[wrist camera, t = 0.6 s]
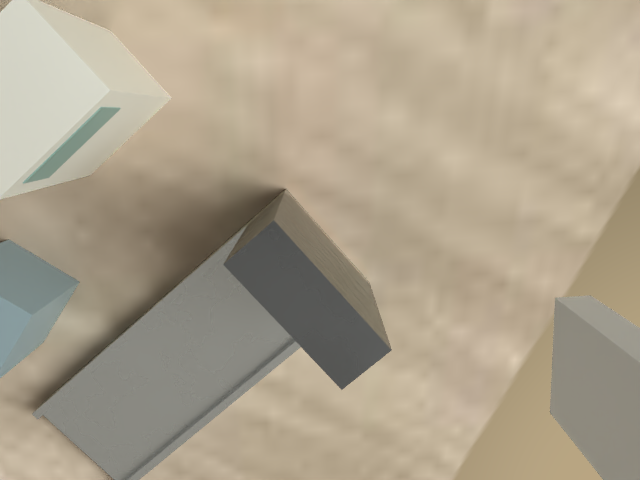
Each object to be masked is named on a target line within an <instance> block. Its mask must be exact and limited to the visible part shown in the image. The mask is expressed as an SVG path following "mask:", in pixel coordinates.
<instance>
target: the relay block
mask: <svg viewBox="0 0 640 480" xmlns="http://www.w3.org/2000/svg"><path fill="white" fill-rule="evenodd" d="M78 284H79V281H77V280H76V279H74V278H72V277H71V276H69V275H67V274H66V273H64V272H62V271H61V270H59V269H57V268H56V267H54V266H52V265H51V264H49V263H47V262H46V261H44V260H42V259H41V258H39V257H37V256H36V255H34V254H32V253H31V252H29V251H27V250H26V249H24V248H22V247H21V246H19V245H17V244H16V243H14V242H12V241H10V240H6V241H4V242H1V243H0V378H1V377H2V376H4V375H5V374H6V373H7V372H8V371H10V370H11V369H12V368H13V367H14V366H16V365H17V364H18V363H19V362H20V361H22V360H23V359H24V358H25V357H26V356H28V355H29V354H30V353H31V352H32V351H34V350H35V349H36V348H37V347H38V346H40V345H41V344H42V343H43V342H44V340H45V339H46V337H47V335H48V334H49V332H50V330H51V329H52V327H53V325H54V324H55V322H56V320H57V319H58V317H59V315H60V314H61V312H62V310H63V309H64V307H65V305H66V304H67V302H68V300H69V299H70V297H71V295H72V294H73V292H74V290H75V289H76V287H77V285H78Z"/></svg>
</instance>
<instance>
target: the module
mask: <svg viewBox="0 0 640 480" xmlns="http://www.w3.org/2000/svg"><path fill="white" fill-rule="evenodd" d="M170 99H171V97H170V96H169V94H168V93H167V92H166V91H165V90H164V89H163V88H162V87H161V86H160V84H159V83H158V82H157V81H156V80H155V79H154V78H153V77H152V76H151V75H150V73H149V72H148V71H147V70H146V69H145V68H144V67H143V66H142V65H141V63H140V62H139V61H138V60H137V59H136V58H135V57H134V56H133V55H132V53H131V52H130V51H129V50H128V49H127V48H126V47H125V46H124V45H123V44H122V42H121V41H120V40H119V39H118V38H117V37H116V36H115V35H114V34H113V32H112V31H110V30H108V29H106V28H103V27H101V26H98V25H96V24H94V23H91V22H89V21H87V20H84V19H82V18H79V17H77V16H75V15H72V14H70V13H68V12H65V11H63V10H61V9H58V8H56V7H53V6H51V5H49V4H46V3H44V2H42V1H39V0H12V1H11V2H10V3H9V4H8V5H7V6H6V7H5V8H4V9H3V10H2V11H1V12H0V199H4V198H8V197H11V196H15V195H19V194H23V193H26V192H30V191H34V190H38V189H41V188H45V187H49V186H53V185H57V184H60V183H64V182H68V181H72V180H75V179H79V178H83V177H87V176H90V175H91V174H92V173H93V172H94V171H95V170H96V169H97V168H99V167H100V166H101V165H102V164H103V163H104V162H105V161H106V160H107V159H108V158H109V157H110V156H111V155H112V154H113V153H114V152H115V151H116V150H118V149H119V148H120V147H121V146H122V145H123V144H124V143H125V142H126V141H127V140H128V139H129V138H130V137H131V136H132V135H133V134H134V133H135V132H137V131H138V130H139V129H140V128H141V127H142V126H143V125H144V124H145V123H146V122H147V121H148V120H149V119H150V118H151V117H152V116H153V115H154V114H156V113H157V112H158V111H159V110H160V109H161V108H162V107H163V106H164V105H165V104H166V103H167V102H168V101H169V100H170Z"/></svg>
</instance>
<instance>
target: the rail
mask: <svg viewBox="0 0 640 480" xmlns="http://www.w3.org/2000/svg"><path fill="white" fill-rule="evenodd" d="M300 347H302V348H303V349H304V350H305V352H306V353H307V354H308V355H309V356H310V357H311V358H312V359H313V360H314V361H315V362H316V363H317V364H318V365H319V366H320V367H321V368H322V369H323V370H324V372H325V373H326V374H327V375H328V376H329V377H330V378H331V379H332V380H333V381H334V382H335V383H336V384H337V385H338V386H339V387H340V388H341V389H343V388H345V387H346V386H347V385H348V384H350V383H351V382H352V381H353V380H355V379H356V378H357V377H358V376H360V375H361V374H362V373H363V372H365V371H366V370H367V369H368V368H370V367H371V366H372V365H373V364H375V363H376V362H377V361H379V360H380V359H381V358H382V357H384V356H385V355H386V354H387V353H389V352H390V351H391V350H392V349H391V346H390V343H389V340H388V337H387V334H386V331H385V328H384V325H383V322H382V319H381V316H380V313H379V310H378V307H377V304H376V301H375V298H374V295H373V292H372V289H371V286H370V283H369V281H368V280H367V279H366V278H365V277H364V276H363V275H362V274H361V272H360V271H359V270H358V269H357V268H356V267H355V266H354V265H353V263H352V262H351V261H350V260H349V259H348V258H347V257H346V256H345V254H344V253H343V252H342V251H341V250H340V249H339V248H338V247H337V245H336V244H335V243H334V242H333V241H332V240H331V239H330V238H329V236H328V235H327V234H326V233H325V232H324V231H323V230H322V229H321V227H320V226H319V225H318V224H317V223H316V222H315V221H314V220H313V219H312V217H311V216H310V215H309V214H308V213H307V212H306V211H305V210H304V208H303V207H302V206H301V205H300V204H299V203H298V202H297V201H296V199H295V198H294V197H293V196H292V195H291V194H290V193H289V192H288V190H287V189H285V190H284V191H283V192H282V193H281V194H280V195H278V196H277V197H276V198H275V199H274V200H273V201H272V202H270V203H269V204H268V205H267V206H266V207H265V208H264V209H263V210H261V211H260V212H259V213H258V214H257V215H256V216H255V217H253V218H252V219H251V220H250V221H249V222H248V223H247V224H245V225H244V226H243V227H242V228H241V229H240V230H239V231H238V232H236V233H235V234H234V235H233V236H232V237H231V238H230V239H228V240H227V241H226V242H225V243H224V244H223V245H222V246H220V247H219V248H218V249H217V250H216V251H215V252H214V253H213V254H211V255H210V256H209V257H208V258H207V259H206V260H205V261H203V262H202V263H201V264H200V265H199V266H198V267H197V268H195V269H194V270H193V271H192V272H191V273H190V274H189V275H188V276H186V277H185V278H184V279H183V280H182V281H181V282H180V283H178V284H177V285H176V286H175V287H174V288H173V289H172V290H170V291H169V292H168V293H167V294H166V295H165V296H164V297H163V298H161V299H160V300H159V301H158V302H157V303H156V304H155V305H153V306H152V307H151V308H150V309H149V310H148V311H147V312H145V313H144V314H143V315H142V316H141V317H140V318H139V319H137V320H136V321H135V322H134V323H133V324H132V325H131V326H130V327H128V328H127V329H126V330H125V331H124V332H123V333H122V334H120V335H119V336H118V337H117V338H116V339H115V340H114V341H112V342H111V343H110V344H109V345H108V346H107V347H106V348H105V349H103V350H102V351H101V352H100V353H99V354H98V355H97V356H95V357H94V358H93V359H92V360H91V361H90V362H89V363H87V364H86V365H85V366H84V367H83V368H82V369H81V370H80V371H78V372H77V373H76V374H75V375H74V376H73V377H72V378H70V379H69V380H68V381H67V382H66V383H65V384H64V385H62V386H61V387H60V388H59V389H58V390H57V391H56V392H55V393H53V394H52V395H51V396H50V397H49V398H48V399H47V400H45V401H44V402H43V403H42V404H41V405H40V406H39V407H38V408H37V409H36V410H35V412H34V413H33V414H32V415H33V416H35V417H36V418H37V419H39V418H40V417H41V416H42V415H43V416H45V417H46V418H47V419H48V420H49V421H50V422H51V423H52V424H53V425H54V426H56V427H57V428H58V429H59V430H60V431H61V432H62V433H63V434H64V435H65V436H67V437H68V438H69V439H70V440H71V441H72V442H73V443H74V444H75V445H76V446H78V447H79V448H80V449H81V450H82V451H83V452H84V453H85V454H86V455H88V456H89V457H90V458H91V459H92V460H93V461H94V462H95V463H96V464H97V465H99V466H100V467H101V468H102V469H103V470H104V471H105V472H106V473H107V474H108V475H110V476H111V477H112V478H113V479H114V480H139V479H141V478H142V477H143V476H144V475H145V474H147V473H148V472H149V471H150V470H152V469H153V468H154V467H155V466H156V465H158V464H159V463H160V462H161V461H163V460H164V459H165V458H166V457H167V456H169V455H170V454H171V453H172V452H173V451H175V450H176V449H177V448H178V447H180V446H181V445H182V444H183V443H184V442H186V441H187V440H188V439H189V438H191V437H192V436H193V435H194V434H195V433H197V432H198V431H199V430H200V429H201V428H203V427H204V426H205V425H206V424H208V423H209V422H210V421H211V420H212V419H214V418H215V417H216V416H217V415H219V414H220V413H221V412H222V411H223V410H225V409H226V408H227V407H228V406H229V405H231V404H232V403H233V402H234V401H236V400H237V399H238V398H239V397H240V396H242V395H243V394H244V393H245V392H247V391H248V390H249V389H250V388H251V387H253V386H254V385H255V384H256V383H257V382H259V381H260V380H261V379H262V378H264V377H265V376H266V375H267V374H268V373H270V372H271V371H272V370H273V369H274V368H276V367H277V366H278V365H279V364H281V363H282V362H283V361H284V360H285V359H287V358H288V357H289V356H290V355H292V354H293V353H294V352H295V351H296V350H298V349H299V348H300Z"/></svg>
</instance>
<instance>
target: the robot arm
mask: <svg viewBox="0 0 640 480" xmlns="http://www.w3.org/2000/svg"><path fill="white" fill-rule="evenodd" d="M550 413H551V415H552V416H553V417H554V418H555V420H556V421H557V422H558V423H559V424H560V426H561V427H562V428H563V430H564V431H565V432H566V433H567V435H568V436H569V437H570V438H571V440H572V441H573V442H574V443H575V445H576V446H577V447H578V448H579V450H580V451H581V452H582V454H583V455H584V456H585V457H586V459H587V460H588V461H589V462H590V463H591V465H592V466H593V467H594V469H595V470H596V471H597V472H598V474H599V475H600V476H601V477H602V479H603V480H640V328H639V327H637V326H636V325H634V324H632V323H631V322H630V321H628V320H627V319H625V318H623V317H622V316H621V315H619V314H617V313H616V312H615V311H613V310H612V309H610V308H608V307H607V306H605V305H604V304H603V303H601V302H600V301H598V300H596V299H595V298H593V297H592V296H577V297H561V298H555V312H554V335H553V357H552V382H551V404H550Z"/></svg>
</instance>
